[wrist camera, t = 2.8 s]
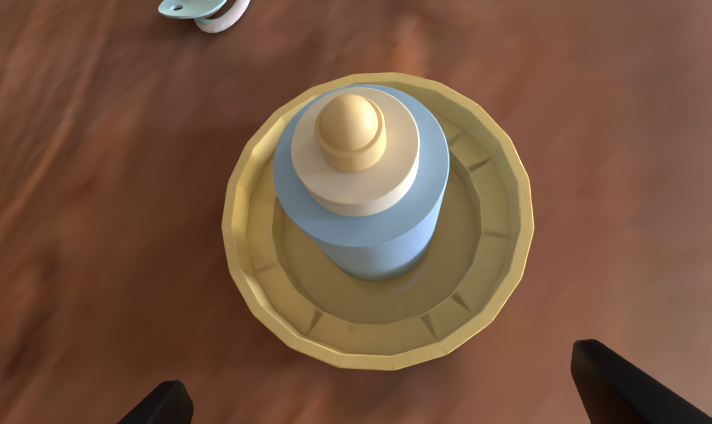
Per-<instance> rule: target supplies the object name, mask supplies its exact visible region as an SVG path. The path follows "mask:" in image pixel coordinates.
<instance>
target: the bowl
mask: <svg viewBox="0 0 712 424" xmlns="http://www.w3.org/2000/svg"><path fill="white" fill-rule="evenodd" d="M361 84H371V85H380V86H385V87H389V88H393V89H396V90H398V91H401V92H403V93H405V94H407V95H409V96H411V97H413V98H414V99H416V100H417V101H418V102H420V103H421V104H422V105H423V106H424V107H426V108H427V109H428V110H429V112H430V113H431V114H432V115H433V116H434V117H435V119H436V120H437V122H438V124H439V125H440V127H441V129H442V131H443V133H444V136H445V139H446V142H447V146H448V152H449V173H448V179H447V183H446V187H445V191H444V195H443V199H442V202H441V206H440V210H439V214H438V218H437V222H436V226H435V230H434V233H433V237H432V241H431V244H430V247H429V249H428V251H427V253H426V254H425V256H424V258H423V259H422V260H421V261H420V262H419V264H418V265H417V266H415V267H414V268H413V269H412V270H411V271H409V272H408V273H406V274H404V275H402V276H400V277H398V278H395V279H392V280H388V281H381V282H371V281H364V280H360V279H357V278H354V277H352V276H350V275H348V274H346V273H345V272H343V271H342V270H341V269H340V268H338V267H337V266H336V265H335V264H334V263H333V262H332V261H331V260H330V259H329V258H328V257H327V256H326V255H325V254H324V253H323V252H322V251H321V250H320V249H319V248H318V247H317V246H316V245H315V244H314V243H313V242H312V241H311V240H310V239H309V238H308V236H307V235H306V234H305V233H304V232H303V231H302V230H301V229H300V228H299V227H298V226H297V225H296V224H295V223H294V222H293V221H292V220H291V219H290V218H289V216H288V215H287V214H286V212H285V211H284V209H283V207H282V206H281V204H280V202H279V199H278V197H277V194H276V191H275V187H274V181H273V160H274V153H275V150H276V146H277V143H278V141H279V139H280V136H281V134H282V132H283V131H284V129H285V127H286V126H287V124H288V123H289V122H290V120H291V119H292V118H293V117H294V116H295V114H296V113H297V112H298V111H299V110H300V109H302V108H303V107H304V106H305V105H307V104H308V103H309V102H311V101H312V100H314V99H315V98H317V97H318V96H321V95H323V94H325V93H327V92H329V91H332V90H335V89H338V88H341V87H346V86H351V85H361ZM221 226H222V234H223V240H224V246H225V251H226V257H227V263H228V269H229V272H230V275H231V277H232V278H233V280H234V282H235V284H236V286H237V288H238V289H239V291H240V293H241V295H242V297H243V298H244V300H245V302H246V304H247V306H248V308H249V309H250V311H251V313H252V314H253V316H255V317H256V318H257V319H258V320H259V321H260V322H261V323H262V324H264V325H265V326H266V327H267V328H268V329H269V330H270V331H271V332H272V333H274V334H275V335H276V336H277V337H278V338H279V339H280V340H281V341H282V342H284V343H285V344H286V345H287V346H288V347H290V348H291V349H294V350H296V351H298V352H301V353H303V354H306V355H308V356H311V357H313V358H315V359H318V360H320V361H323V362H325V363H328V364H330V365H332V366H335V367H339V368H348V369H367V370H386V371H392V370H398V369H401V368H405V367H408V366H412V365H415V364H418V363H422V362H425V361H429V360H432V359H435V358H439V357H442V356H445V355H446V354H449V353H450V352H452V351H453V350H455V349H456V348H457V347H459V346H460V345H461V344H463V343H464V342H466V341H467V340H468V339H470V338H471V337H473V336H474V335H475V334H477V333H478V332H479V331H481V330H482V329H484V328H485V327H486V326H488V325H489V324H490V323H491V322H492V321H493V320H494V318H495V317H496V315H497V314H498V313H499V311H500V310H501V308H502V307H503V305H504V304H505V302H506V301H507V299H508V298H509V296H510V295H511V294H512V292H513V291H514V289H515V288H516V286H517V285H518V283H519V282H520V280H521V278H522V276H523V272H524V268H525V264H526V260H527V256H528V252H529V248H530V244H531V240H532V236H533V233H534V221H533V211H532V200H531V190H530V181H529V178H528V176H527V174H526V171H525V169H524V167H523V165H522V163H521V161H520V158H519V156H518V154H517V152H516V150H515V148H514V146H513V143H512V141H511V139H510V138H509V136H508V135H507V134H506V133H505V132H504V131H503V130H502V129H501V128H500V127H499V126H498V125H497V124H496V122H495V121H494V120H493V119H492V118H491V117H490V116H489V115H488V114H487V113H486V112H485V111H484V110H483V109H482V108H481V107H480V106H479V105H478V104H477V103H475V102H473V101H472V100H470V99H468V98H466V97H464V96H463V95H461V94H459V93H457V92H456V91H454V90H452V89H450V88H448V87H447V86H445V85H443V84H441V83H439V82H436V81H432V80H427V79H423V78H419V77H414V76H410V75H406V74H401V73H396V72H391V73H368V74H353V75H349V76H346V77H343V78H339V79H336V80H333V81H330V82H327V83H324V84H321V85H317V86H314V87H312V88H310V89H308V90H307V91H305V92H304V93H302V94H300V95H299V96H297V97H296V98H294V99H293V100H291V101H290V102H288V103H287V104H285V105H283V106H282V107H280V108H279V109H277V110H276V112H274V113H273V114H272V115H271V116H270V117H269V118H268V119H267V121H266V122H265V123H264V124H263V125H262V126H261V127H260V128H259V130H258V131H257V132H256V133H255V134H254V135H253V136H252V137H251V139H250V140H249V141H248V142H247V144H246V145H245V147H244V149H243V151H242V153H241V156H240V158H239V160H238V162H237V164H236V166H235V168H234V170H233V172H232V175H231V177H230V179H229V181H228V184H227V190H226V197H225V204H224V211H223V218H222V225H221Z"/></svg>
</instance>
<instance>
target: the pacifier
mask: <svg viewBox="0 0 712 424" xmlns="http://www.w3.org/2000/svg"><path fill="white" fill-rule="evenodd" d="M226 1H227V0H164V1H163V2H162V3H161V4H160V6H159V8H158V10H159V12H160V13H161V14H162V15H163V16H166V17H170V18H179V19H187V18H194V20H195V22H196V24H197V26H198V27H199V28H200V29H201V30H202V31H205V32H208V33H217V32H220V31H223V30H225V29H227V28H228V27H230V26H231V25H232V24H234V23H235V22H236V21H237V20H238V19H239V18H240V16H241V15H242V14H243V13H244V11H245V9H246V8H247V6H248V4H249V2H250V0H236V2H235V4H234V5H233V6H232V7H231V9H230V10H229V11H228V12H226V13H225V14H224V15H223V16H221V17H219V18H217V19H214V20H207V19H205V18H208V17H210V16H212V15H214V14H215V13H216V12H217V11H218V10H219V9H220V7H221V6H222V5H223V4H224V3H225V2H226ZM175 8H182V9H181V10H177V11H174V10H173V9H175Z"/></svg>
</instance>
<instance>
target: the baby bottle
mask: <svg viewBox="0 0 712 424" xmlns="http://www.w3.org/2000/svg"><path fill="white" fill-rule="evenodd" d="M448 173H449V152H448V146H447V142H446V139H445V136H444V133H443V131H442V129H441V127H440V125H439V124H438V122H437V120H436V119H435V117H434V116H433V115H432V114H431V113H430V112H429V110H428V109H427V108H426V107H424V106H423V105H422V104H421V103H420V102H418V101H417V100H416V99H414V98H413V97H411V96H409V95H407V94H405V93H403V92H401V91H398V90H396V89H393V88H389V87H385V86H380V85H371V84H361V85H351V86H346V87H341V88H338V89H335V90H332V91H329V92H327V93H325V94H323V95H321V96H318V97H317V98H315V99H314V100H312V101H311V102H309V103H308V104H307V105H305V106H304V107H303V108H302V109H300V110H299V111H298V112H297V113H296V114H295V116H294V117H293V118H292V119H291V120H290V122H289V123H288V124H287V126H286V127H285V129H284V131H283V132H282V134H281V136H280V139H279V141H278V143H277V146H276V150H275V153H274V160H273V181H274V187H275V191H276V194H277V197H278V199H279V202H280V204H281V206H282V207H283V209H284V211H285V212H286V214H287V215H288V216H289V218H290V219H291V220H292V221H293V222H294V223H295V224H296V225H297V226H298V227H299V228H300V229H301V230H302V231H303V232H304V233H305V234H306V235H307V236H308V238H309V239H310V240H311V241H312V242H313V243H314V244H315V245H316V246H317V247H318V248H319V249H320V250H321V251H322V252H323V253H324V254H325V255H326V256H327V257H328V258H329V259H330V260H331V261H332V262H333V263H334V264H335V265H336V266H337V267H338V268H340V269H341V270H342V271H343V272H345V273H346V274H348V275H350V276H352V277H354V278H357V279H360V280H364V281H371V282H381V281H388V280H392V279H395V278H398V277H400V276H402V275H404V274H406V273H408V272H409V271H411V270H412V269H413V268H414V267H415V266H417V265H418V264H419V262H420V261H421V260H422V259H423V258H424V256H425V254H426V253H427V251H428V249H429V247H430V244H431V241H432V237H433V233H434V230H435V226H436V222H437V218H438V214H439V210H440V206H441V202H442V199H443V195H444V191H445V187H446V183H447V179H448Z"/></svg>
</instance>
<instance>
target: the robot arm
mask: <svg viewBox="0 0 712 424" xmlns="http://www.w3.org/2000/svg"><path fill="white" fill-rule="evenodd" d="M571 374H572V377H573V380H574V382H575V385H576V387H577V390H578V392H579V395H580V397H581V400H582V402H583V405H584V407H585V410H586V412H587V414H588V417H589V419H590V422H591V424H712V418H711V417H710V416H708V415H707V414H705V413H704V412H702V411H701V410H699V409H698V408H696V407H695V406H693V405H692V404H691V403H689V402H688V401H686V400H685V399H683V398H682V397H680V396H679V395H677V394H676V393H674V392H673V391H671V390H670V389H668V388H667V387H665V386H664V385H663V384H661V383H660V382H658V381H657V380H655V379H654V378H652V377H651V376H649V375H648V374H646V373H645V372H643V371H642V370H640V369H639V368H637V367H636V366H635V365H633V364H632V363H630V362H629V361H627V360H626V359H624V358H623V357H621V356H620V355H618V354H617V353H615V352H614V351H612V350H611V349H609V348H608V347H607V346H605V345H604V344H602V343H601V342H599V341H597V340H595V339H587V340H578V341H576V342H575V343H574V345H573V352H572V360H571ZM192 416H193V402H192V400H191V398H190V396H189V394H188V392H187V390H186V388H185V386H184V384H183V383H182V382H181V381H180V380H174V381H165V382H162V383H161V384H159V385H158V386H157V387H156V388H155V389H154V390H153V391H152V392H151V393H150V394H149V395H147V396H146V397H145V398H144V399H143V400H142V401H141V402H140V403H139V404H138V405H137V406H136V407H134V408H133V409H132V410H131V411H130V412H129V413H128V414H127V415H126V416H125V417H124V418H123V419H121V420H120V421H119V422H118V423H117V424H191V420H192Z"/></svg>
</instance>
